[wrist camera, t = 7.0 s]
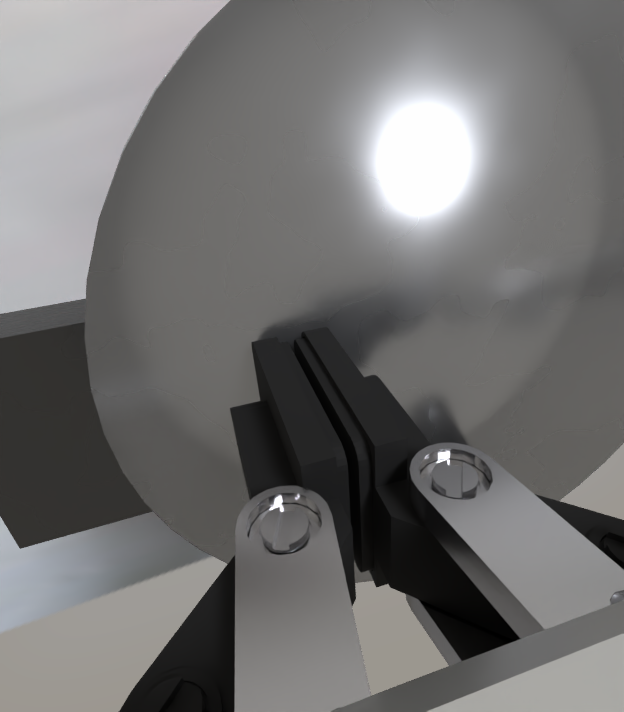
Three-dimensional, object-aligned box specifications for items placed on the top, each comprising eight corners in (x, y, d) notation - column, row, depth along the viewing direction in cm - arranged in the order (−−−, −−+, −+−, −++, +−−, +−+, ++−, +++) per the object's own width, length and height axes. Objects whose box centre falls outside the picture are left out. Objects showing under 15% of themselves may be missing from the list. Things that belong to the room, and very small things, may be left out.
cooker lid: (815, -104, 10) (1032, -166, 8) (616, 472, 19) (688, 530, 16) (-306, -101, 6) (-628, -236, 3) (104, 643, 15) (96, 757, 12)
